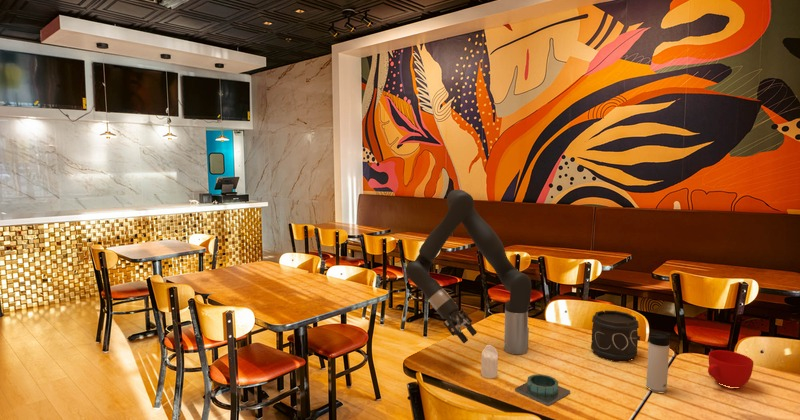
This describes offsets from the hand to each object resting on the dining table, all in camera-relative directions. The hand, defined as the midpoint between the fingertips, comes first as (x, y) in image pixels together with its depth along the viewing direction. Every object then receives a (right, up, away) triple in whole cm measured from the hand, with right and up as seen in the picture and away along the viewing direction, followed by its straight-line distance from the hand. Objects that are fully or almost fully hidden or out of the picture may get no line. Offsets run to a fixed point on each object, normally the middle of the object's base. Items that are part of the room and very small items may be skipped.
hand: (470, 338), depth 180 cm
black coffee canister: (+61, -11, +16) cm, 64 cm away
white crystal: (+6, -13, -2) cm, 15 cm away
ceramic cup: (+87, -14, -11) cm, 89 cm away
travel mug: (+62, -14, -14) cm, 65 cm away
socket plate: (+22, -14, -15) cm, 31 cm away
